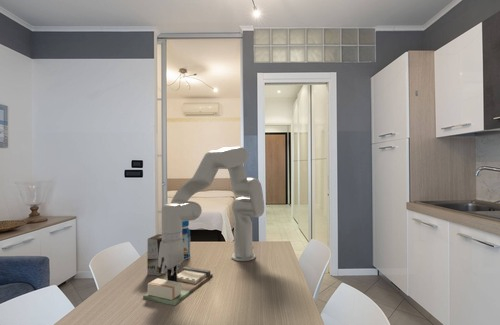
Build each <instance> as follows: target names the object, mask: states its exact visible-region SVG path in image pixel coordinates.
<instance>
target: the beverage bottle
mask: <svg viewBox="0 0 500 325" xmlns="http://www.w3.org/2000/svg"><path fill="white" fill-rule="evenodd" d="M189 223H190V221H182V239H183V247H184V260H183V261H185V260H189V259H190V258H191V229H190V228H189V225H190V224H189Z"/></svg>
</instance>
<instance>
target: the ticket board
mask: <svg viewBox="0 0 500 325" xmlns="http://www.w3.org/2000/svg"><path fill="white" fill-rule="evenodd" d="M213 275H214V274H212V273H211V270H209V269H204V268H198V267H192V266H184V267H182V271H181V272H179V273H177V282H180V283H181V294H180V295H178V296H177V297H176V298H174V299H173V300H170V299H165V298H161V297H156V296H152V295H148V292H146V293H145V294H143V295H142V298H143V299H145V300H149V301H153V302H157V303H162V304H167V305H171V306H177V304H179V303H180V302H181V301H183V300H184V299H185V298H186V297H188V296H189V295H190V294H192V293H193V292H194V291H195V290H196V289H198V288H199V287H201V286H202V285H203V284H204V283H206V282H207V281H209V280H210V279H211V278H212V277H213Z"/></svg>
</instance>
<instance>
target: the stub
mask: <svg viewBox="0 0 500 325" xmlns="http://www.w3.org/2000/svg"><path fill="white" fill-rule="evenodd" d="M147 293H148V295H152V296H156V297H161V298H165V299H170V300H173V299H174V298H176V297H177V296H178V295H180V294H181V283H180V282H175V281H169V280H167V279H163V278H159V277H157V278H155V279H153V280H152V281H150V282H148V283H147Z"/></svg>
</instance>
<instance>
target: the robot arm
mask: <svg viewBox="0 0 500 325" xmlns="http://www.w3.org/2000/svg"><path fill="white" fill-rule="evenodd" d="M248 152H249V151H248V150H247V149H246V148H245V147H243V146H231V147H228V146H227V147H221V148H219V149H216V150H210V151H207V152H206V153H204V155H203V157H202V159H201V161H200V163H199V165H198V167H197V169H196V170H195V172H194V174H193V176H192V177H191V178H189V180H187V181H186V182H184V184H182V186H180V187H179V188H178V189H177V191H176V192H175V194H174V195H173V197H172V199H171V201H170V203H165V204H163V205H162V207H161V234H162V241H161V243H160V247H159V257H158V267H159V268H162V271H161V273H162V274H166V275H167V279H166V280H169V281H175V282H177V274H179V273H178V272H179V268H180V266H181V265H183V262H184V261H185V260H184V247H183V239H182V221H189V222H190V221H191V222H192V221H195V220H197V219H199V218H200V216H201V214H202V211H203V210H202V206H201V205H200V203H198V202H196V201H190V199H191V197H192V196H194V195H195V194H196V193H199V192H202V191H204V190H206V189H208V188H210V186H212V184H213V181H214V179H215V177H216V175H217V173H218V171H219V170H228V171H227V172H228V174H229V178H230V179H229V180H230V185H231V190H232V193H233V195H236V196H237V197H236V198H235V199H234V200H233V201H232V206H231V208H232V210H231V211H232V214H233V226H234V227H233V228H234V229H233V230H234V231H233V234H234V235H233V236H234V237H233V238H234V241H233V243H234V244H233V247H234V251H233V253H232V254H231V259H232V260H233V261H237V262H248V261H249V262H250V261H253V260H254V259H256V253H254V252H253V249H254V248H255V247H254V245H253V222H252V220H251V218H259V217H262V216H263V214H264V213H265V200H264V194H263V187H262V183H261V182H260V180H259V179H257V178H256V177H248V176H247V171H246V167H245V164H246V163H247V162H248V159H249V153H248ZM238 196H239V197H238Z"/></svg>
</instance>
